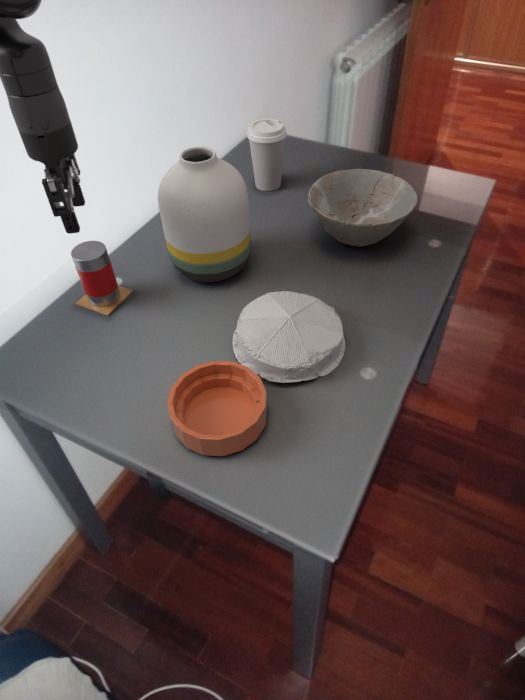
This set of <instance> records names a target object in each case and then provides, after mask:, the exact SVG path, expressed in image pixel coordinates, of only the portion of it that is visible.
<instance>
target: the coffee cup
mask: <svg viewBox="0 0 525 700" xmlns="http://www.w3.org/2000/svg"><path fill="white" fill-rule="evenodd" d="M246 137H247V139H248V141H249V148H250V155H251V163H252V170H253V171H252V172H253V177H254V183H255V184H254V185H255V188H256V189H257V190H259V191H262V192H272V191H276V190H278V189H280V188H281V186H282V176H283V175H282V173H283V164H284V162H283V161H284V152H285V140H286V138H287V137H288V132H287V129H286V126H285V125H284V123H283V121H281V120H279V119H276V118H260V119H256V120H254V121H252V122H251V123H250V124H249V127H248V129H247V132H246Z"/></svg>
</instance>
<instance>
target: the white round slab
mask: <svg viewBox="0 0 525 700" xmlns="http://www.w3.org/2000/svg"><path fill="white" fill-rule="evenodd" d="M343 328H344V326H343V322H342V320H341V318H340V315H339V313H338V312H336V310H335V307H334V306H332V305H329V304H327V302H325V300H322V299H321V298H318V297H315V296H314V295H310V294H309V293H307V292H306V293H300V292H296V291H290V290H282V291H271V292H269V291H267V293H265V294H263V295H261V296H258V297H256V298H255V299H253V300H252V301H250V302H249V303H248V304H247V305H245V306H244V307H243V309H242V310H241V311H240V314H239V316H238V319H237V323H236V327H235V330H234V332H233V335H232V349H233V353H234V355H235V359H237V363H238V364H241V365H244V366H247V367H249V368H250V369H251V370H252V371H253V372H254V373H256V374H257V375H258V376H259V377H260V378H261V379H265V380H267V381H269V382H273V383H282V384H285V383H299V382H301V381H304V382H305V381H310V380H315V379H318V378H319V377H325V376H327V375H329V374H330V373H332V372H334V371H335V370H336V369H337V368H338V366H339V365H340V363H341V361H342V359H343V357H344V355H345V351H346V340H345V335H344V329H343Z"/></svg>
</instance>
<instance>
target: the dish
mask: <svg viewBox="0 0 525 700" xmlns="http://www.w3.org/2000/svg"><path fill="white" fill-rule="evenodd" d="M267 395H268V393H267V389H266V387H265V384H264V382H263V379H262V377H260V376H259V374H258V375H257V374H256V373H254V372H253V371H252V370H251V369H250V368H249V367H247V366H244V365H241V363H239V362H236V361H233V360H232V361H231V360H230V361H229V360H212V361H208V362H205V363H201V364H197V365H195V366H193V367H192V368H190V369H188V370H187V371H185V372H184V373H182V374H181V375H180V376H179V377H178V379H177V380H176V381H175V382H174V384H173V385H172V386H171V388H170V390H169V394H168V398H167V401H166V402H167V403H166V405H167V409H168V413H169V417H170V422H171V424H172V428H173V431H174V435H175V437H176V438H177V439H178V441H180V442H181V443H182V444H183V446H184V447H185V448H186V449H188V450H191V451H193V452H195V453H197V454H200V455H201V456H214V457H225V456H228V455H233V454H234V453H238V452H242V451H243V450H245V449H246V448H247V447H248V446H250V445H252V444H253V443H254V442H256V440H258V439H259V437H260V436H261V433H262V432H263V430H264V428H265V426H266V425H267V419H268V417H267V416H268V396H267Z"/></svg>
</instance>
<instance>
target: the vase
mask: <svg viewBox="0 0 525 700" xmlns="http://www.w3.org/2000/svg"><path fill="white" fill-rule="evenodd" d="M248 192H249V191H248V187H247V185H246V181H245V180H244V177H243V175H242V174H241V173H240V171H239V170H238V169H237V168H236V167H234V166H233V164H231V163H229V162H228V161H226V160H224V159H221V158H220V157H218V155H217V152H216V150H215V149H213V148H211V147H209V146H200V145H199V146H192V147H188V148H186V149H184V150H183V151H181V152H180V154H179V161H177V162H176V163H175V164H173V165H172V166H171V167H170V168H169V169H168V170H167V171H166V172H165V173H164V174H163V176H162V178H161V180H160V183H159V185H158V191H157V203H158V211H159V216H160V220H161V225H162V230H163V236H164V240H165V244H166V249H167V252H168V256H169V259H170V261H171V263H172V265H173V266H174V269H175V270H176V271H178V272H179V274H180V275H182V276H184V277H185V278H187V279H188V280H189V279H190V280H192V281H195V282H201V283H215V282H221V281H225V280H227V279H230V278H231V277H234V276H235V275H237V274H239V272H241V270H242V269H244V267H245V266H246V264H247V262H248V259H249V257H250V254H251V246H252V245H251V241H252V239H251V220H250V219H251V218H250V201H249V199H250V198H249V193H248Z"/></svg>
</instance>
